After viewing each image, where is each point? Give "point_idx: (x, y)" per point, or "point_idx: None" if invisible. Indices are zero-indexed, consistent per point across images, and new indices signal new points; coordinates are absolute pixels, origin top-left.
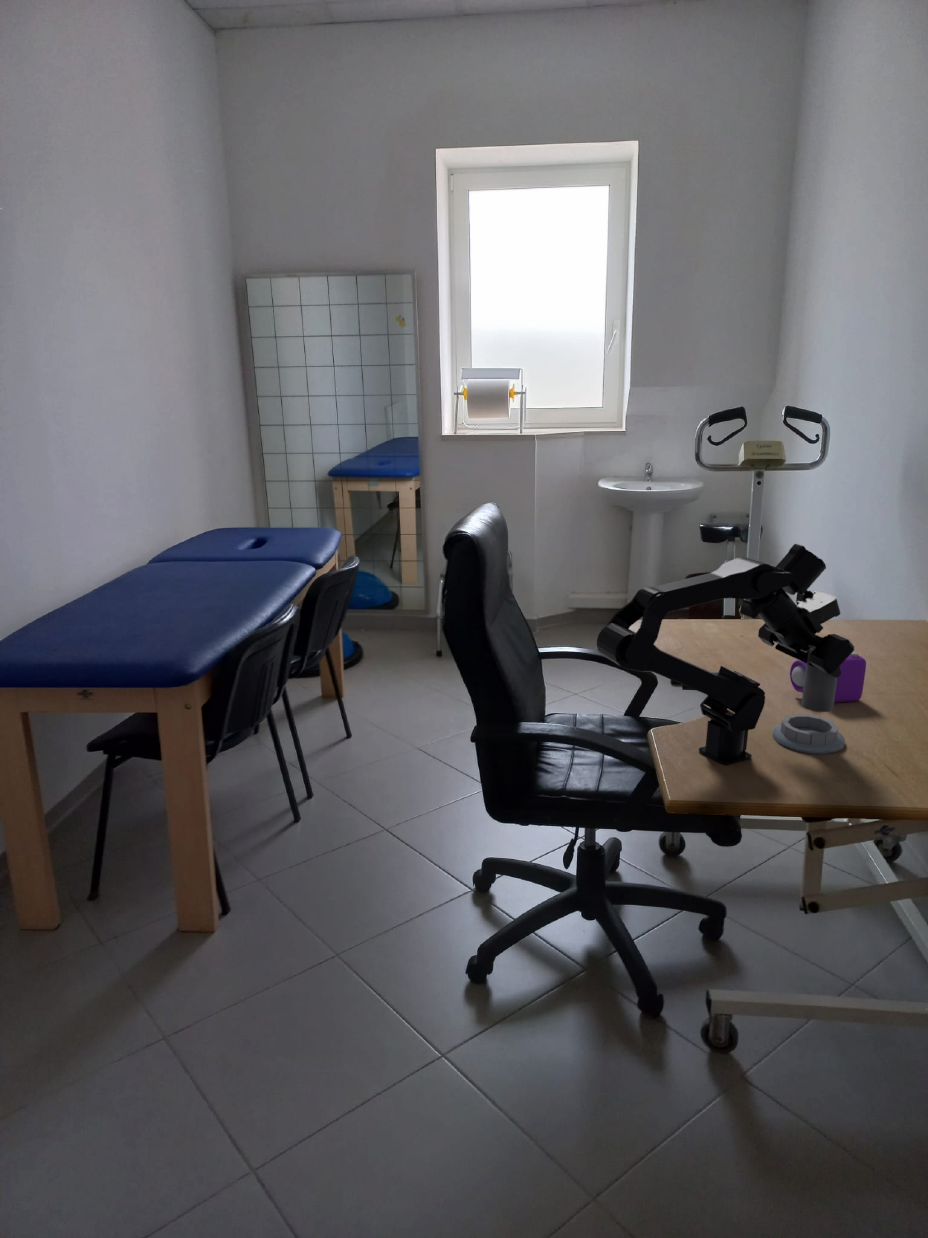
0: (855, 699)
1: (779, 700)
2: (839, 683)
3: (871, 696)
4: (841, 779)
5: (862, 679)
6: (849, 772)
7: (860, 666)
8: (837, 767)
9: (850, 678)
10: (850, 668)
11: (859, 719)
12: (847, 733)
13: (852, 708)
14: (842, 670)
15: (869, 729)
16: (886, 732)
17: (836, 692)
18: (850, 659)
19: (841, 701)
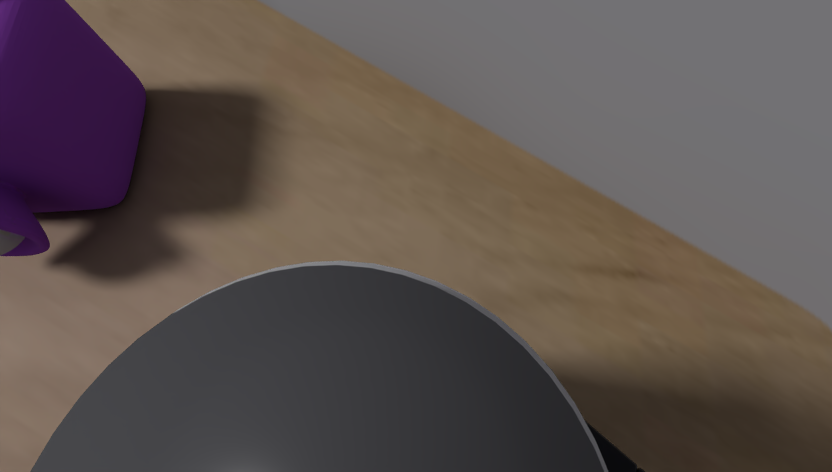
0: (144, 104)
1: (42, 332)
2: (91, 125)
3: (126, 47)
4: (688, 468)
5: (101, 43)
6: (634, 409)
7: (56, 13)
8: (598, 429)
9: (87, 78)
10: (50, 53)
11: (265, 162)
12: (353, 252)
13: (186, 138)
14: (48, 87)
15: (337, 174)
16: (365, 142)
17: (115, 151)
18: (4, 22)
19: (137, 145)
